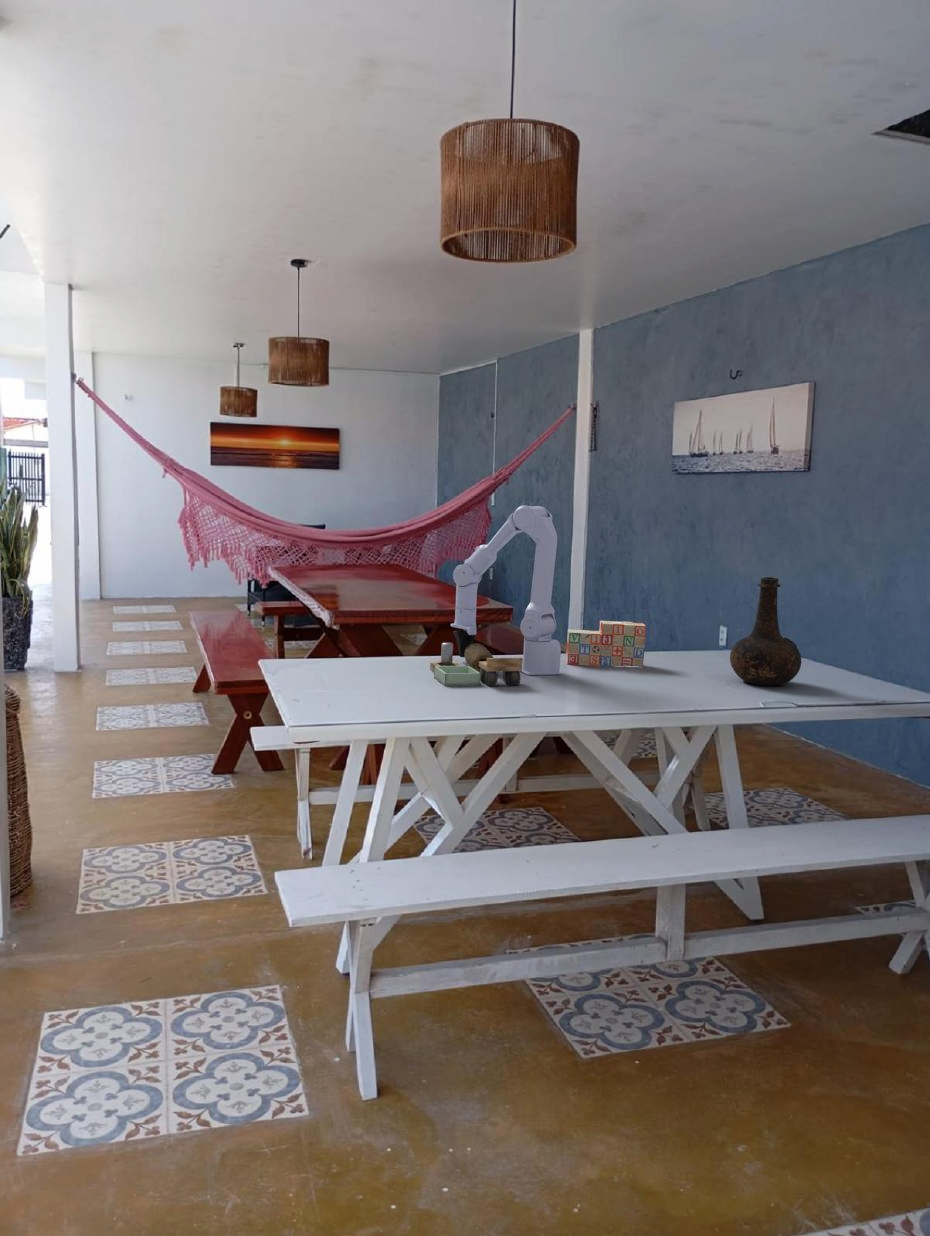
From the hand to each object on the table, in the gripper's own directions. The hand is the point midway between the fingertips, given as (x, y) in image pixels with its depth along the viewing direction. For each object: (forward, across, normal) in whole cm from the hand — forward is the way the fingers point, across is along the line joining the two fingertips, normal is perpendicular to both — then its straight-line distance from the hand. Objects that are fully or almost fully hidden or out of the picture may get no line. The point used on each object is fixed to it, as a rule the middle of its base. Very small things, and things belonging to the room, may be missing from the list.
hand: (463, 656), depth 270 cm
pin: (+1, +14, -9) cm, 17 cm away
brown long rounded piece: (+2, +12, 0) cm, 12 cm away
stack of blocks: (+2, +6, +40) cm, 40 cm away
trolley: (+1, +30, 0) cm, 30 cm away
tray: (+1, +27, -10) cm, 29 cm away
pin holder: (+1, +14, -9) cm, 17 cm away
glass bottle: (+2, +36, +72) cm, 80 cm away
